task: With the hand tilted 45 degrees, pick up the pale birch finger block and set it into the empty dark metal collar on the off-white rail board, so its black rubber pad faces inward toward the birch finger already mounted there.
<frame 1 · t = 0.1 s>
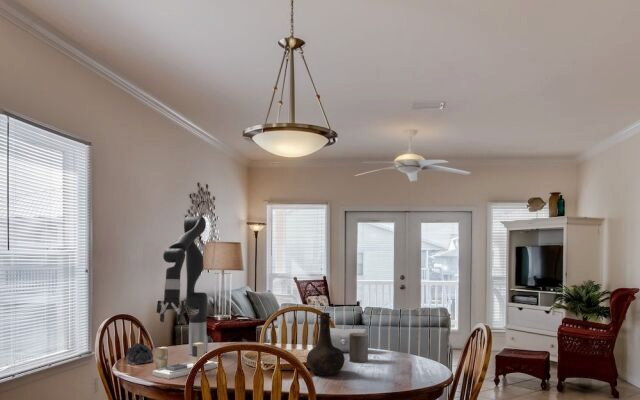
hand: (170, 322, 282), 22 cm above the table, tool pointing down, fingers open, 8 cm apart
dark brown vase: (325, 374, 269), on the table
pillar candle: (358, 361, 296), on the table
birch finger: (161, 368, 280), on the table
rail board: (186, 371, 275), on the table
tank: (344, 352, 318), on the table
crystal cluster: (139, 362, 296), on the table
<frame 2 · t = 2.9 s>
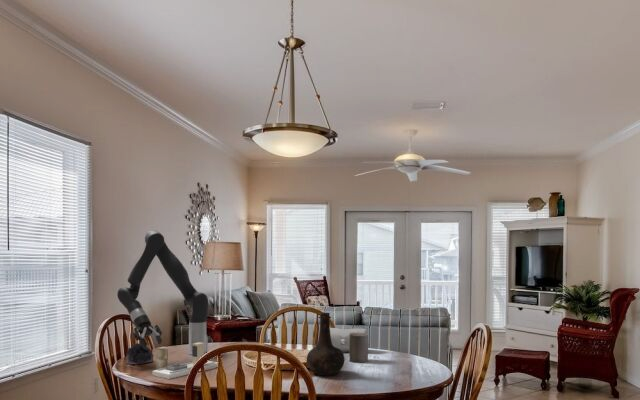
hand: (153, 344, 285), 11 cm above the table, tool tilted 45°, fingers open, 8 cm apart
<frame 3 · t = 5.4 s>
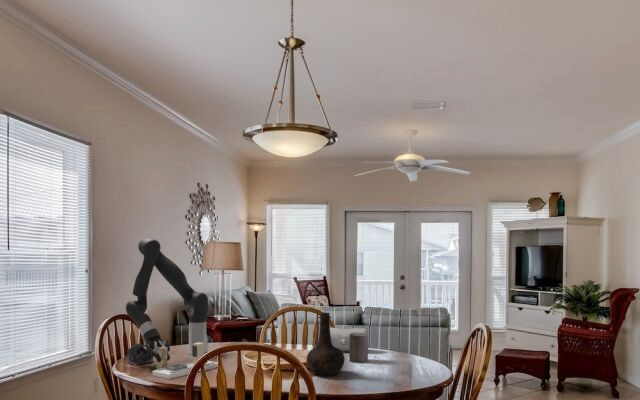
hand: (164, 360, 279), 4 cm above the table, tool tilted 45°, fingers closed on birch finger, 4 cm apart
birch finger: (161, 368, 280), on the table, touching gripper
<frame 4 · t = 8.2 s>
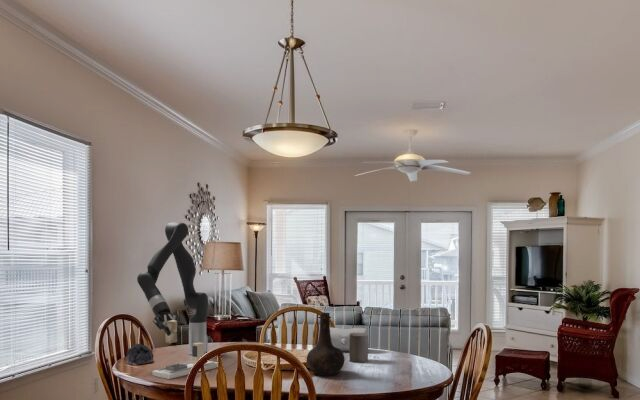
hand: (174, 333, 272), 18 cm above the table, tool tilted 45°, fingers closed on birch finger, 4 cm apart
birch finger: (171, 342, 273), point 14 cm above the table, touching gripper
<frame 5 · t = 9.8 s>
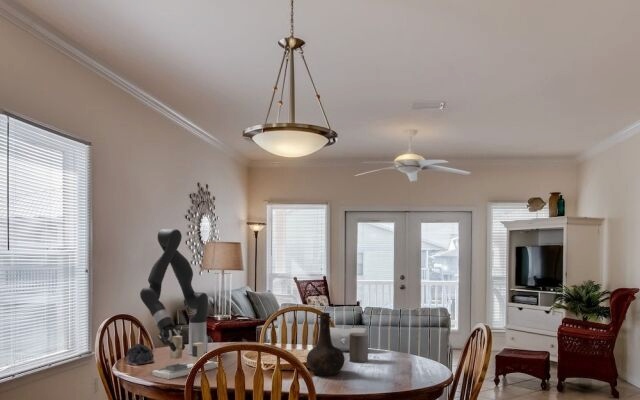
hand: (179, 349, 270), 11 cm above the table, tool tilted 45°, fingers closed on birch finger, 4 cm apart
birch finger: (176, 358, 270), point 7 cm above the table, touching gripper
when the fingers open (7 cm above the table, at t = 10.9 s): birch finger drops 1 cm, resting on rail board.
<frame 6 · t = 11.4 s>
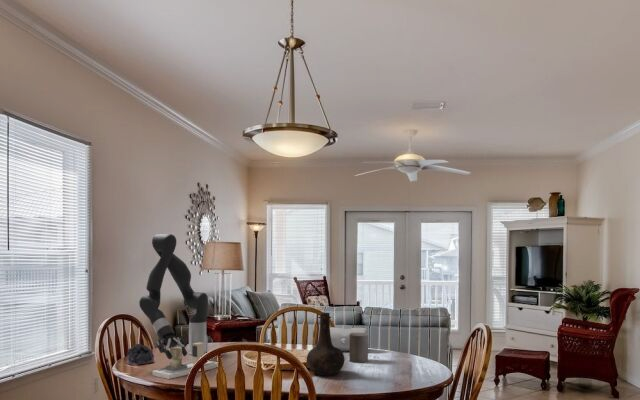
hand: (178, 356, 270), 8 cm above the table, tool tilted 45°, fingers open, 8 cm apart
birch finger: (175, 369, 270), point 2 cm above the table, touching rail board
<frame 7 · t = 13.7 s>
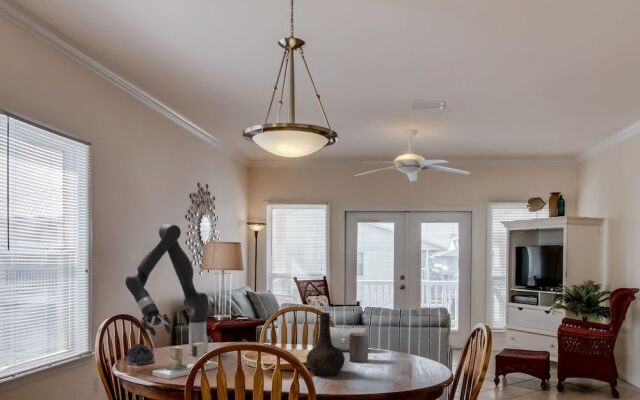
hand: (162, 333, 278), 17 cm above the table, tool tilted 45°, fingers open, 8 cm apart
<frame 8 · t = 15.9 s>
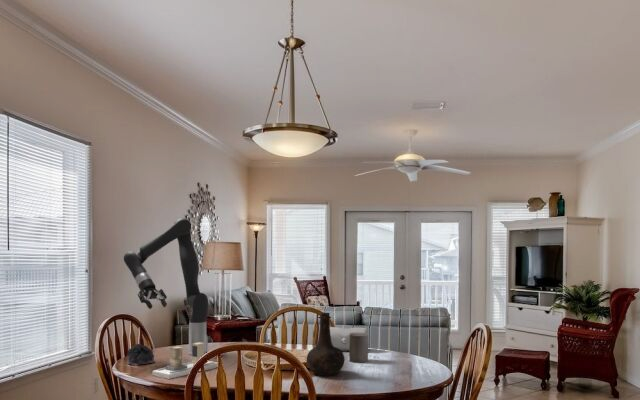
hand: (158, 307, 291), 29 cm above the table, tool tilted 45°, fingers open, 8 cm apart
at the end: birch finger 0.4 cm from the target spot on the rail board, point 2.0 cm above the rail board's base; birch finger tilted 0°; the gripper is holding nothing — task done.
